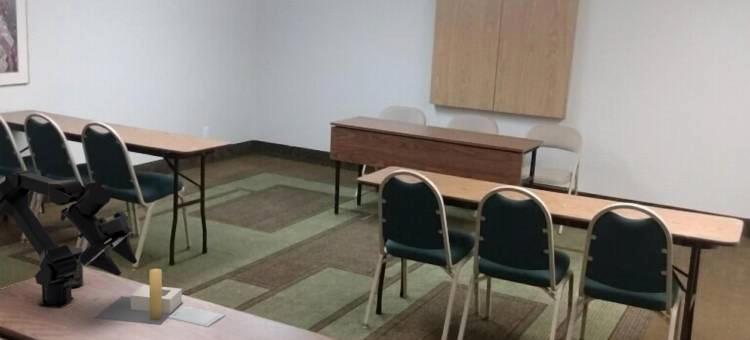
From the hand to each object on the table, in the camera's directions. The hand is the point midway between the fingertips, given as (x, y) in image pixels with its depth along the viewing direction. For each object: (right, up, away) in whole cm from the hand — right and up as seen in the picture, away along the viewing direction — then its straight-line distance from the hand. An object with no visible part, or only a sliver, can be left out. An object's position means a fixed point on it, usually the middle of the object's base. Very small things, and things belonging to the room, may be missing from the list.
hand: (128, 268), depth 191 cm
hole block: (+5, -11, +9) cm, 15 cm away
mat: (+1, -12, +6) cm, 14 cm away
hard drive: (+17, -14, +4) cm, 23 cm away
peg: (+7, -13, +2) cm, 15 cm away
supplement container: (-24, -8, +22) cm, 33 cm away
